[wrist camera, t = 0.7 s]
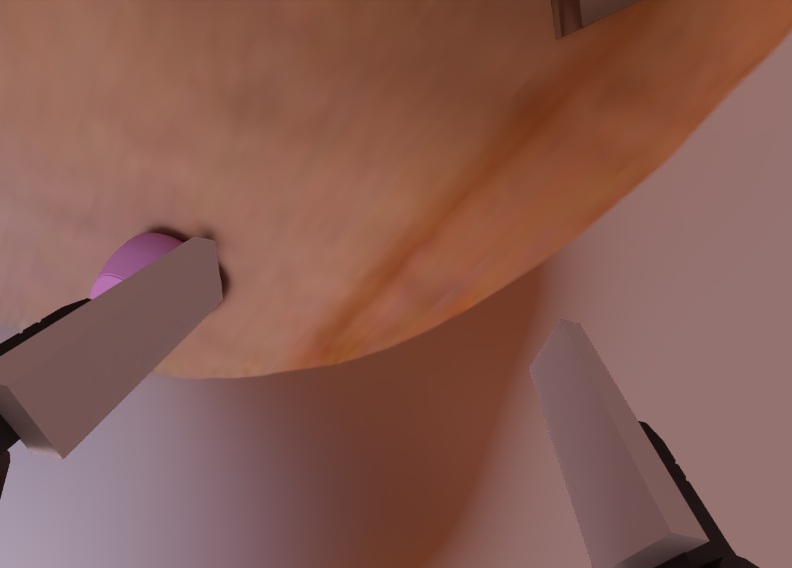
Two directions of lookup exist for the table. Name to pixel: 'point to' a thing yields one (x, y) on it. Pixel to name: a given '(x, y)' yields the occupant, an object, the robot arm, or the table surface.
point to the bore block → (582, 13)
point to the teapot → (133, 259)
